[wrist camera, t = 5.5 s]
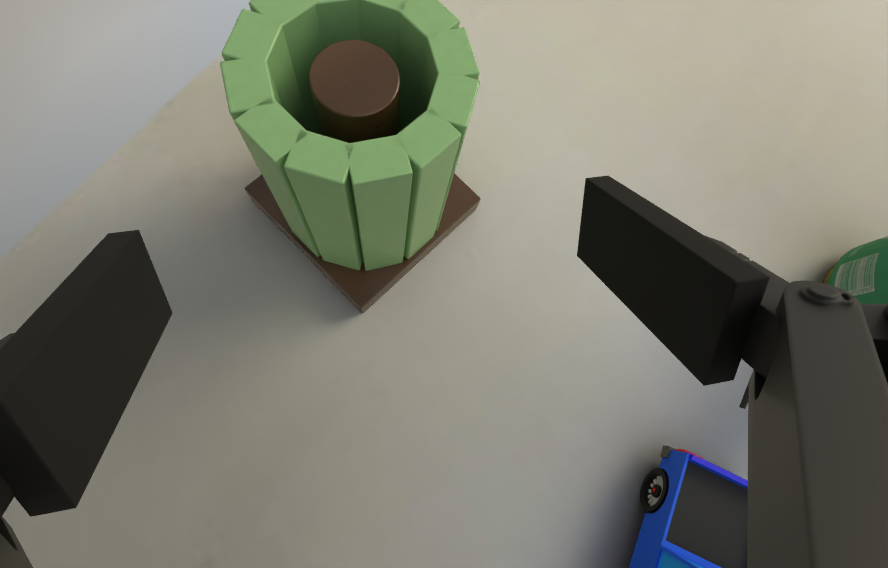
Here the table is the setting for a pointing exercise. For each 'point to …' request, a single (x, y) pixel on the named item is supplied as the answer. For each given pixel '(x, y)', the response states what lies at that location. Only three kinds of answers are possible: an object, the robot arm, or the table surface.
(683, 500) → the toy car
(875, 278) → the beverage can
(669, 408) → the table surface
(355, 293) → the stacking stand
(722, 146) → the table surface
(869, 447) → the robot arm
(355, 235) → the green tube
